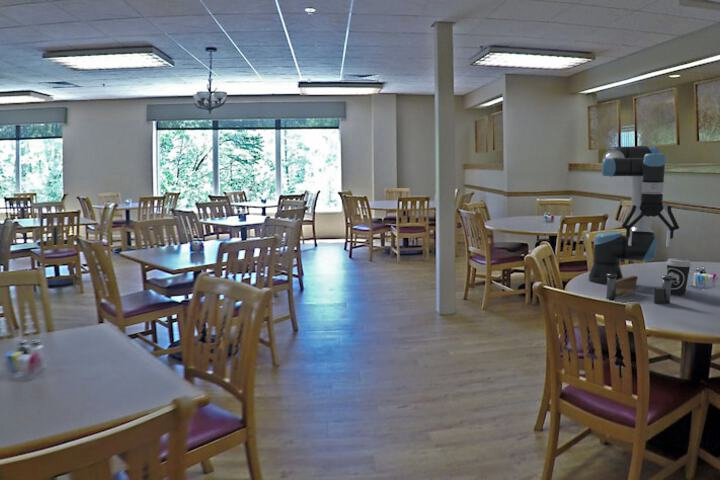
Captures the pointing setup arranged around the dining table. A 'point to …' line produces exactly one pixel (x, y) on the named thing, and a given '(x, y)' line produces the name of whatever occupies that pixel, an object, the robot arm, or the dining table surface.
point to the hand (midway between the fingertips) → (648, 245)
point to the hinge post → (611, 286)
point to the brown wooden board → (625, 286)
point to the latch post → (663, 291)
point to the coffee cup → (678, 275)
